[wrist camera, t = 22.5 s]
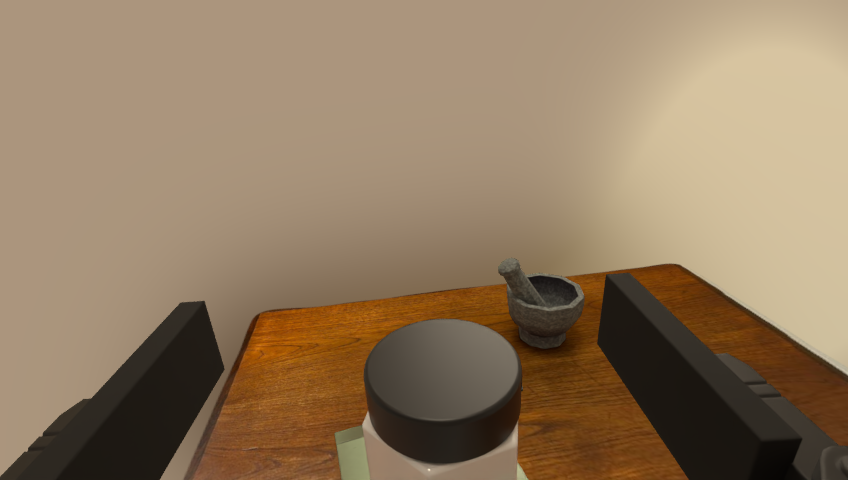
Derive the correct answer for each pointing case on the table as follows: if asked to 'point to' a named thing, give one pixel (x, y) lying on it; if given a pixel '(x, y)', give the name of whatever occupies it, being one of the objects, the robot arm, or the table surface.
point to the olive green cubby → (364, 455)
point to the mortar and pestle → (541, 304)
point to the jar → (442, 403)
